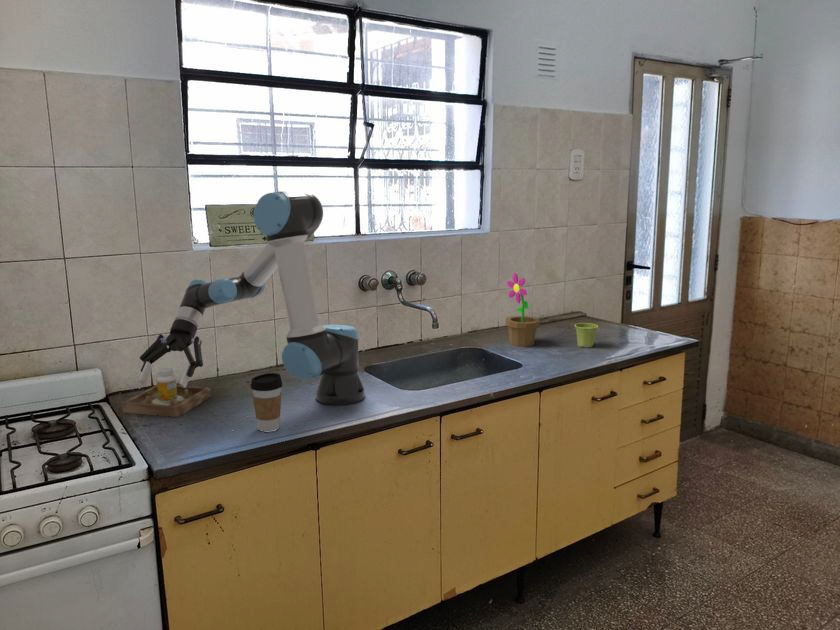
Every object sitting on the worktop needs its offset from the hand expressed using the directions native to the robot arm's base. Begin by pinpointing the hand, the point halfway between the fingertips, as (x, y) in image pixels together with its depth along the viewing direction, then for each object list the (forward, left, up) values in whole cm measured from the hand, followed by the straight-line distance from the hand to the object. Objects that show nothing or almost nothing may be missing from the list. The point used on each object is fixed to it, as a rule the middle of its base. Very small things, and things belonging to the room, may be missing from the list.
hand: (161, 384), depth 193 cm
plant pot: (-4, -163, -7) cm, 163 cm away
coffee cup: (-31, -24, -7) cm, 40 cm away
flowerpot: (+11, -142, -7) cm, 142 cm away
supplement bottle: (+2, -2, -6) cm, 6 cm away
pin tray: (+2, -2, -7) cm, 8 cm away
